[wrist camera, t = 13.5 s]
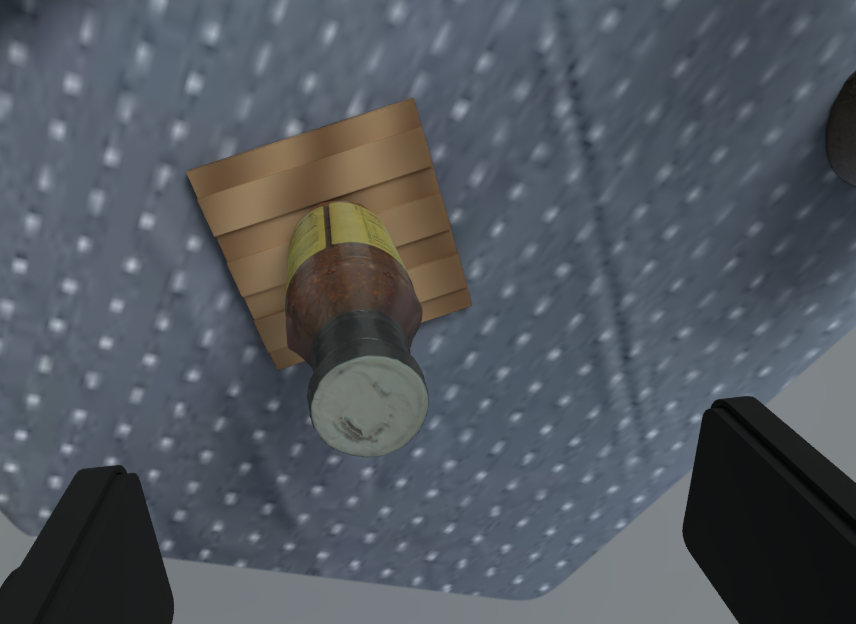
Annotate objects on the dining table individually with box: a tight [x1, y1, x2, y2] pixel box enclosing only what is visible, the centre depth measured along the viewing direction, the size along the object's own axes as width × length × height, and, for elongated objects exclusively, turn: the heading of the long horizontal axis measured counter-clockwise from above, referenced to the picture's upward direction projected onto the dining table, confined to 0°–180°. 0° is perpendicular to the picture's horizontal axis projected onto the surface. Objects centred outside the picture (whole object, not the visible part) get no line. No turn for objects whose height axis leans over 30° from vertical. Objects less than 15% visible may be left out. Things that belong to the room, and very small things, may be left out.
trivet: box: [186, 98, 472, 370], centre depth 39 cm, size 14×14×1 cm
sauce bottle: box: [285, 201, 429, 457], centre depth 29 cm, size 6×6×20 cm
